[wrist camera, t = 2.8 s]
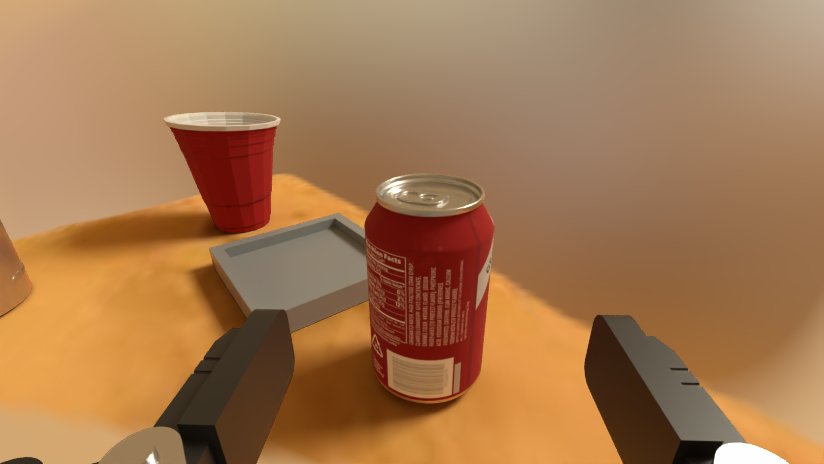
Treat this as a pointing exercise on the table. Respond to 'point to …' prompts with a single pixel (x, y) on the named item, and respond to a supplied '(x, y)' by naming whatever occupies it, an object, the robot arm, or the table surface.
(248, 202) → the plastic cup
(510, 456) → the table surface
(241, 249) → the serving tray
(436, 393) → the soda can
